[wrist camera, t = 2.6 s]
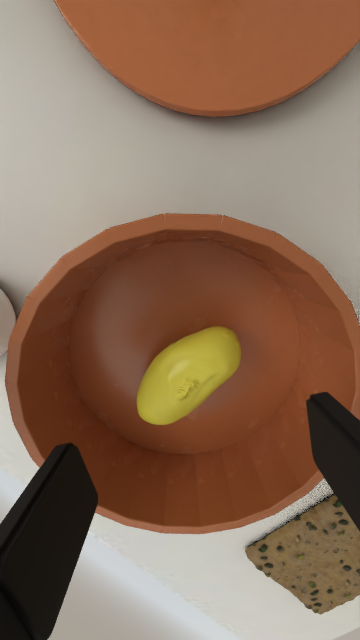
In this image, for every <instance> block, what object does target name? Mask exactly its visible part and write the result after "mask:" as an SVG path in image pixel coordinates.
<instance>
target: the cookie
mask: <svg viewBox="0 0 360 640" xmlns="http://www.w3.org/2000/svg"><path fill="white" fill-rule="evenodd" d="M245 552H246V554H247V557H248V558H249V559H250V560H251V561H252V562H253V563H254V564H255V566H256V568H257V569H258V570H260V571H263V572H264V573H265V575H266V576H267V577H271V578H272V579H273V580H274V581H275V582H277V583H279V584H280V585H282V586H283V587H284V588H286V589H288V590H289V591H290V592H291V593H292V594H293V595H294V596H296V597H297V598H298V599H299V600H300V601H301V602H303V603H304V605H305V607H306V608H308V609H312V610H313V612H314V613H318V614H323V613H324V612H327V611H330V610H332V609H333V608H335V607H336V606H339V605H342V604H344V603H345V602H347V601H351V600H353V599H354V598H355V597H356V596H358V595H360V531H359V530H358V528H357V527H356V525H355V524H354V522H353V521H352V519H351V518H350V516H349V515H348V513H347V512H346V510H345V508H344V507H343V505H342V504H341V502H340V501H339V499H338V498H337V496H336V495H334V496H332V497H330V498H329V499H325V501H323V502H322V503H320V504H318V505H317V506H315V507H314V508H310V509H309V511H307V512H306V513H304V514H302V515H301V516H297V517H295V518H294V520H292V521H290V522H289V523H287V524H286V525H285V526H283V527H281V528H280V529H278V530H276V531H274V532H272V533H271V534H270V535H268V536H266V537H263V539H261V540H260V541H258V542H257V543H253V545H251V546H249V547H248V548H247V549H246V550H245Z"/></svg>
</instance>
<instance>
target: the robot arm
mask: <svg viewBox="0 0 360 640" xmlns="http://www.w3.org/2000/svg"><path fill="white" fill-rule="evenodd" d="M306 407H307V415H308V424H309V432H310V440H311V448H312V456H313V459H314V462H315V464H316V466H317V468H318V469H319V471H320V472H321V474H322V475H323V477H324V478H325V480H326V481H327V483H328V484H329V486H330V487H331V489H332V490H333V492H334V493H335V495H336V496H337V498H338V499H339V501H340V502H341V504H342V505H343V507H344V508H345V510H346V512H347V513H348V515H349V516H350V518H351V519H352V521H353V522H354V524H355V525H356V527H357V528H358V530H359V531H360V420H359V419H358V418H356V417H355V416H354V415H353V414H352V413H351V412H350V411H349V410H347V409H346V408H345V407H344V406H343V405H342V404H341V403H339V402H338V401H337V400H336V399H335V398H334V397H333V396H332V395H330V394H329V393H328V392H321V393H316V394H311V395H310V399H307V400H306ZM97 504H98V493H97V491H96V489H95V486H94V484H93V482H92V479H91V477H90V475H89V472H88V470H87V468H86V465H85V463H84V460H83V458H82V456H81V453H80V451H79V449H78V447H77V446H76V445H74V444H73V443H65V444H60V445H57V446H55V447H54V449H53V450H52V451H51V453H50V454H49V456H48V457H47V458H46V460H45V461H44V463H43V464H42V466H41V467H40V468H39V470H38V471H37V473H36V474H35V476H34V477H33V478H32V480H31V481H30V483H29V484H28V486H27V487H26V488H25V490H24V491H23V493H22V494H21V495H20V497H19V498H18V500H17V501H16V503H15V504H14V506H13V507H12V508H11V510H10V511H9V513H8V514H7V515H6V517H5V518H4V520H3V521H2V523H1V524H0V640H47V639H48V638H49V636H50V635H51V633H52V631H53V628H54V626H55V623H56V620H57V617H58V614H59V611H60V609H61V606H62V603H63V600H64V597H65V594H66V592H67V589H68V586H69V583H70V581H71V578H72V575H73V572H74V569H75V567H76V564H77V561H78V558H79V555H80V552H81V550H82V547H83V544H84V541H85V538H86V536H87V533H88V530H89V527H90V524H91V522H92V519H93V516H94V513H95V510H96V508H97Z"/></svg>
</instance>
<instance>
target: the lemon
mask: <svg viewBox="0 0 360 640" xmlns="http://www.w3.org/2000/svg"><path fill="white" fill-rule="evenodd" d="M240 360H241V347H240V342H239V339H238V337H237V335H236V333H235V332H234V331H233V330H231V329H229V328H226V327H222V326H215V327H210V328H207V329H204V330H201V331H199V332H196V333H193V334H191V335H188V336H186V337H184V338H182V339H180V340H178V341H177V342H175V343H174V342H173V343H172V344H170V345H169V346H168V347H167V348H166V349H164V350H162V352H161V353H159V354H158V355H157V356H156V357H155V358H154V360H153V361H152V363H151V364H150V366H149V367H148V369H147V370H146V372H145V374H144V376H143V378H142V380H141V383H140V385H139V388H138V391H137V397H136V403H137V410H138V414H139V416H140V417H141V418H142V419H143V420H145V421H146V422H149V423H151V424H156V425H166V424H170V423H173V422H175V421H177V420H179V419H181V418H182V417H184V416H186V415H188V414H189V413H190V412H192V411H193V410H194V409H195V408H196V407H198V406H199V405H200V404H202V403H203V402H204V401H205V400H206V399H207V398H208V397H209V396H210V395H211V394H212V393H213V392H214V391H215V390H216V389H217V388H218V387H219V386H220V385H222V384H223V383H224V382H225V381H226V380H228V379H229V378H230V377H231V376H232V375H233V374H234V373H235V371H236V370H237V368H238V366H239V364H240Z"/></svg>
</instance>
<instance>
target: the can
mask: <svg viewBox="0 0 360 640" xmlns="http://www.w3.org/2000/svg"><path fill="white" fill-rule="evenodd" d="M15 323H16V315H15V311H14V308H13V306H12V304H11V302H10V300H9V299H8V297H7V296H6V294H5V293H4V292H3V291H2V290H1V289H0V356H1V355H3V354H4V353H5V352H6V351H7V350H8V343H9V337H10V335H11V333H12V330H13V328H14V326H15Z"/></svg>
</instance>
